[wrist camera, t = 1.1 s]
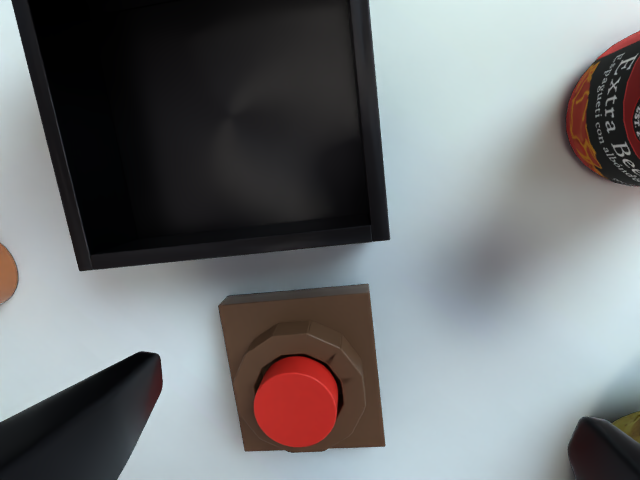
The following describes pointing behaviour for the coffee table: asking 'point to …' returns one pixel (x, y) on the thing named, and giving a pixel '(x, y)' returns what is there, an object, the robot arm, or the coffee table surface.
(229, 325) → the block
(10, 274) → the copper tin
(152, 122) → the black open box
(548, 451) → the coffee table surface
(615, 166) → the canned food
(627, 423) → the olive green oval lump
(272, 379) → the button
